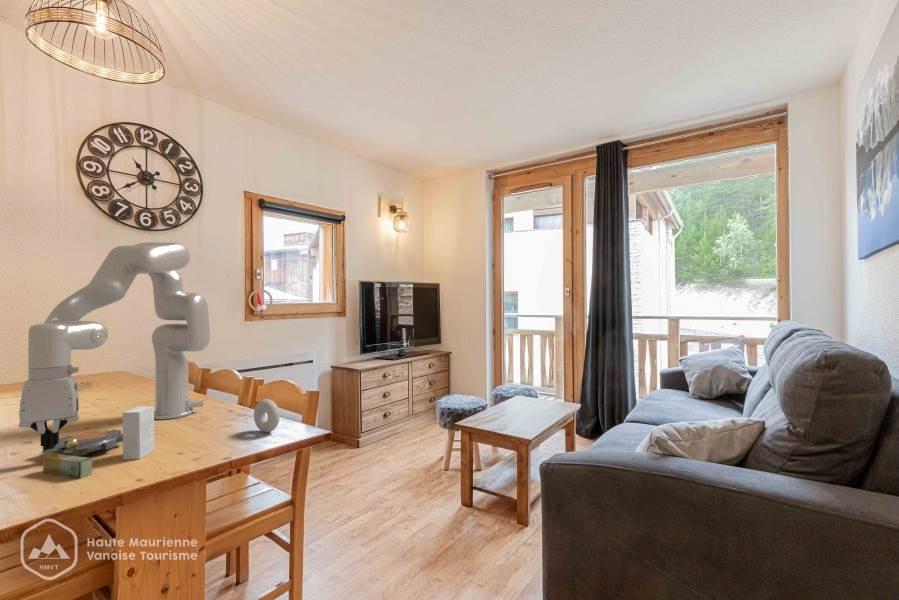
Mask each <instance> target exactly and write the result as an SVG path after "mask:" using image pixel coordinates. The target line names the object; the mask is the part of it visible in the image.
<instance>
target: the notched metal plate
mask: <svg viewBox="0 0 899 600" xmlns="http://www.w3.org/2000/svg"><path fill="white" fill-rule="evenodd" d="M119 443H123V432H122V429H112V430H90V431H85V432H84V433H78V434H74V435H65V436H62V437H59V443H58V444H56V446H55V447H54V448H53V449H47V450H44V446H42V454H45V453H46V456H49V455H53V454H62V455H70V456H78V457H81V456H86V455H87V454H90V453H89V452H91V453H95V452H99V451H101V450H103V451H106V450H110V449H113V448H115V447H117V444H119Z"/></svg>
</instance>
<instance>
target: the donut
mask: <svg viewBox="0 0 899 600" xmlns="http://www.w3.org/2000/svg"><path fill="white" fill-rule="evenodd" d="M280 417H281V416H280V410H279V407H278V405H277V404H276V402H275V401H274V400H272V399H269V398H268V399H266V398H264V399H262V400H259V402H257V404H256V405H255V408H254V411H253V420H254V423H255V426H256V428H257V429H259V431H261V432H263V433H271V432H272V431H275V430H276V428H277V427H278V426H279V422H280Z"/></svg>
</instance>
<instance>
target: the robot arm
mask: <svg viewBox="0 0 899 600" xmlns="http://www.w3.org/2000/svg"><path fill="white" fill-rule="evenodd" d="M190 254H191V253H190V250H189V249H188V247H187V246H186V245H184V244H182V243H180V242H156V241H155V242H154V241H153V242H139V243H136V244H133V245H119V246H118V245H117V246H116V247H113V248H112V249H111V250H110V251H109V252H108V254H107V256H106V257H105V259H104V260H103V262H102V263H101V265H100V266H99V268H98V269H97V271H96V272H95V274H94V275H93V277H92V278H91V280H90V282H89V283H88V284H86V285H85V286H83V287H82V288H80V289H77V291H75V292H74V293H72V294H71V295H69V296H68V297H66V298H65V299H63V300H62V301H60V302H59V303H58V304H57V305H56V306H55V307H54V308H53V310H52V311H51V312H50V313H49V314H48V316H47V318H46V319H45V321H44V322H43V323H36V324H32V325H31V326H30V327H29V328H28V334H27V335H28V339H27V340H28V347H27V349H28V350H27V351H28V354H27V358H28V361H27V362H28V368H27V370H28V373H27V374H28V375H27V377H28V378H27V380H25V381H24V383H23V385H22V386H23V387H22V391H21V396H20V402H19V413H18V414H19V415H18V416H19V423H18V427H19V428H24V429H25V428H26V429H32V430H34V431H36V432H37V433H38V434H39V435H40V447H43V446H44V450H47V449H53V448H54V447H55V446H56V444H58V443H59V438H60V430H61V429H62V428H63V427H64V426H65V425H69V424H72V423H74V422H77V421H79V420H80V416H79V410H80V402H79V401H80V398H79V397H80V396H79V388H78V383H77V382H78V381H77V379H76V376H72V374H75V373H79V370H80V369H79V366H77V367H75V366H73V365H72V360H71V359H72V358H71V357H72V355H71V354H72V351H74V350H84V351H85V350H93V349H97V348H99V347H101V346H102V345H104V344H105V343H106V341H107V340H108V338H109V332H108V329H107V327H106V326H105V325H103V324H102V323H100V322H97V321H93V320H81V319H82V318H83V317H85V316H86V315H88V314H89V313H92V312H93V311H96V310H99V309H100V308H103V307H107V306H110V305H112V304H114V303H117V302H119V301H121V300H122V299H124V297H125V296H126V294H127V292H128V290H129V289H130V287H131V285H132V284H133V282H134V280H135V278H136V277H137V276H138V275H141V274H143V275H145V274H147V275H148V276H149V277H150V280H151V283H152V291H153V292H152V293H153V301H154V312H155V315H156V316H157V318H159V319H161V320H164V321H186V323H165V324H160V325H159V326H157V327H155V329H154V330H153V332H152V335H151V342H152V343H151V344H152V347H153V350H154V351H153V352H154V360H155V371H154V373H155V374H154V375H155V378H154V379H155V380H154V382H155V383H154V384H155V385H154V387H155V389H154V390H155V391H154V392H155V393H154V395H155V397H154V398H155V399H154V400H155V404H154V405H155V406H154V420H171V419H177V418H182V417H187V416H189V415H191V414H192V413H193V412H194V408H201V407H204V401H203V400H201V401H199V400H194V401H192V400H190V398H189V360H188V358H187V356H186V355H185V353H184V352H192V353H193V352H201V351H203V350H205V349H207V347H209V344H210V340H211V339H210V337H211V332H210V318H209V306H208V302H207V301H206V299H205V297H204V296H203V295H201V294H200V293H196V292H184V285H183V280H182V279H183V278H182V276H181V274H180V272H179V271H178V270H181V269H183V268H185V267H186V266H188V264H189V262H190V258H191V255H190ZM48 421H49V422H50V421H53V422H52V427H51V430H50V428H49V426H48Z"/></svg>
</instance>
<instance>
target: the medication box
mask: <svg viewBox="0 0 899 600" xmlns="http://www.w3.org/2000/svg"><path fill="white" fill-rule="evenodd" d="M42 465H43V466H42V474H47V475H50V476H51V475H52V476H57V475H58V476H59V477H63V476H64V477H65V478H69V477H70V479H76V480H81V479H85V478H87V477H90V476H91V475H92V474H93V473H92V472H93V458H92V457H86V456H73V455H62V454H53V455H49V456H47V455H46V456H44V457H43V461H42Z"/></svg>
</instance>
